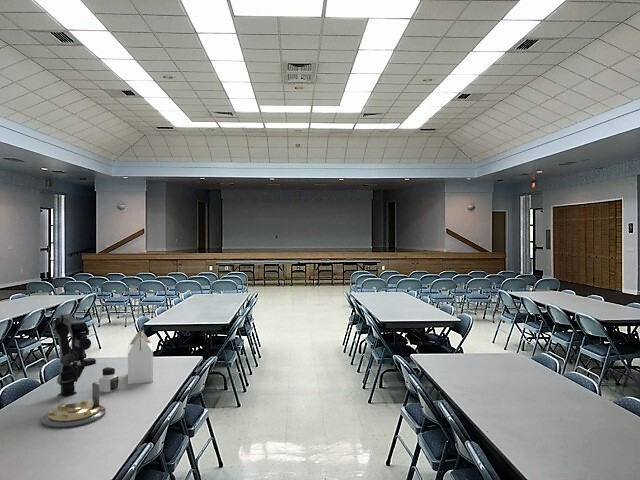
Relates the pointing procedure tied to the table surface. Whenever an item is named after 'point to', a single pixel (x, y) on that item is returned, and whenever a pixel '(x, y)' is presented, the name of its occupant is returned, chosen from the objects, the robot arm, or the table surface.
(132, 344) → the gable box
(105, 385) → the medicine bottle
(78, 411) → the gold wheel with handle
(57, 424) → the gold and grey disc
